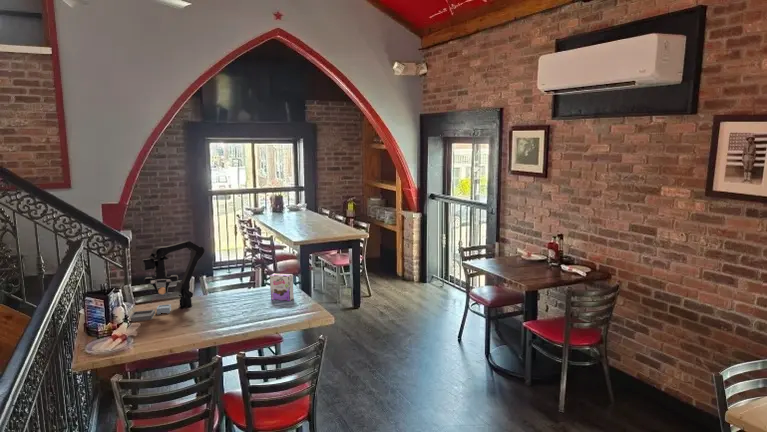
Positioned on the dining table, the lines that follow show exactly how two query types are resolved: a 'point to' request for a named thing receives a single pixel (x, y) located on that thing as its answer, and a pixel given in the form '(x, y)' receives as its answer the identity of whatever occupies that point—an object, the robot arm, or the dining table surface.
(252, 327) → the dining table surface
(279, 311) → the dining table surface
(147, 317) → the tray
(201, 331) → the dining table surface
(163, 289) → the ball
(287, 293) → the candy box
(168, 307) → the light blue storage bin
